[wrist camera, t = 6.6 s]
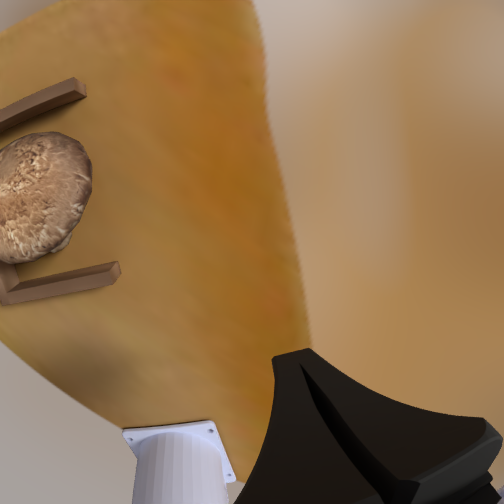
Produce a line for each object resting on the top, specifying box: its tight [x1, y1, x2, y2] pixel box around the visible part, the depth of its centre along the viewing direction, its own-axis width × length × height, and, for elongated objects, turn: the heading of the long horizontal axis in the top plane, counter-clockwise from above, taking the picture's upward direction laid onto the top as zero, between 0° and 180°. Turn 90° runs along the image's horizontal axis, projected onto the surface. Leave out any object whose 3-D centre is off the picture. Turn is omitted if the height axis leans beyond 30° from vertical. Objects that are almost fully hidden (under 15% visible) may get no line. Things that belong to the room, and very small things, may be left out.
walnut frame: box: [0, 77, 121, 306], centre depth 15 cm, size 12×9×2 cm
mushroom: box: [0, 132, 92, 264], centre depth 14 cm, size 8×8×6 cm
